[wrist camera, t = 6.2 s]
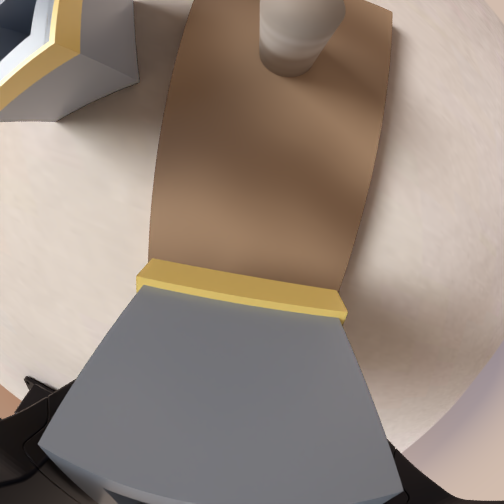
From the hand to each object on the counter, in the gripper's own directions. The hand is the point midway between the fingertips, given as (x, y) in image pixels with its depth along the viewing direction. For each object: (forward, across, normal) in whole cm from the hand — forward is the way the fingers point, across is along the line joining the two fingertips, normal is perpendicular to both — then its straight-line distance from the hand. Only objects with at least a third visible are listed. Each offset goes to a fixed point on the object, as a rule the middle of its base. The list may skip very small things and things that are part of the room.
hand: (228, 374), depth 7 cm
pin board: (+5, 0, -5) cm, 7 cm away
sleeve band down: (+1, 0, 0) cm, 1 cm away
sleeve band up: (+5, +9, -10) cm, 14 cm away
